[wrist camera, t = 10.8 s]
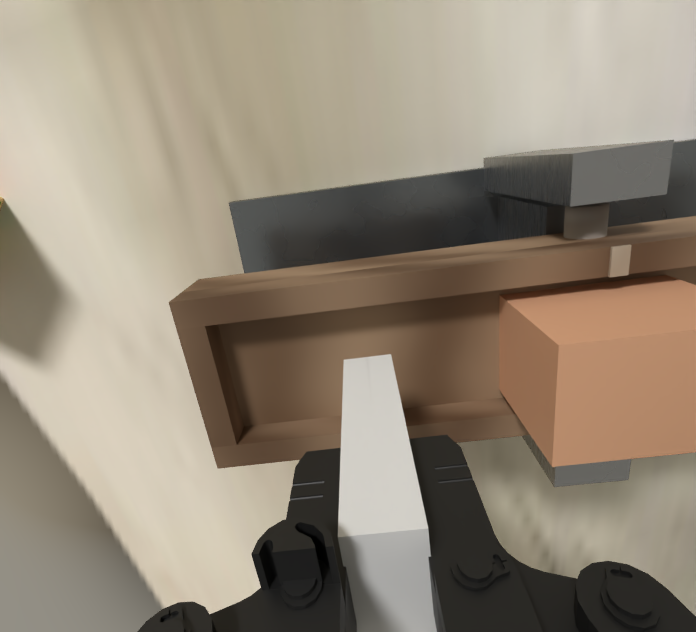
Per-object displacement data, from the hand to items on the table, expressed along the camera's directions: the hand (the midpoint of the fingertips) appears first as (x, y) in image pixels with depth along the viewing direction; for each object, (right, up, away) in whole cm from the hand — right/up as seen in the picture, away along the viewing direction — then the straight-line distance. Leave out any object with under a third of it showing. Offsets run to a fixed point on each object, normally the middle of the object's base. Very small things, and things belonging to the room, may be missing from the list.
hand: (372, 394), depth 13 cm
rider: (+8, +2, +2) cm, 9 cm away
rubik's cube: (-24, +8, +10) cm, 27 cm away
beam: (+8, +2, +3) cm, 9 cm away
